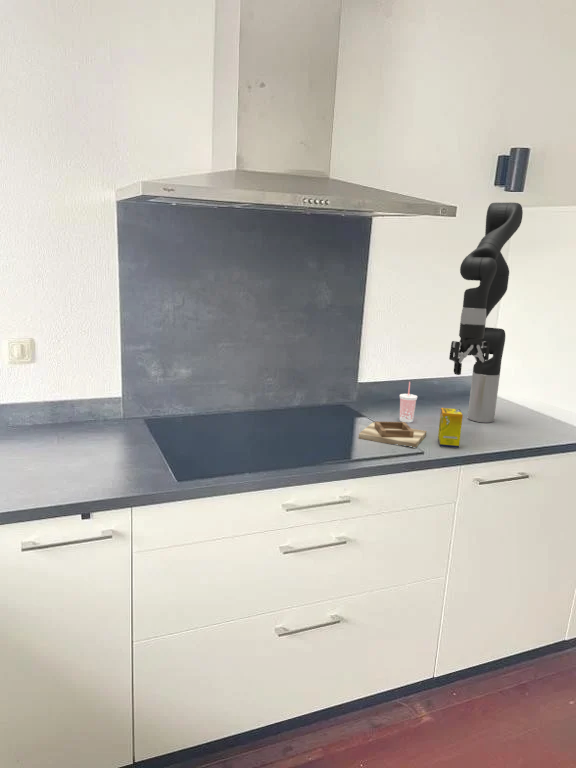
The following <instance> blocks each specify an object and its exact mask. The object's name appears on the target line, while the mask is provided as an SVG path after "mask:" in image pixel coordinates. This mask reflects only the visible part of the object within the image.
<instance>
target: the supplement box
mask: <svg viewBox="0 0 576 768" xmlns="http://www.w3.org/2000/svg"><path fill="white" fill-rule="evenodd" d="M439 416H440V417H439V425H438V435H437V442H438V445H439V447H441V448H450V449H451V448H454V449H459V448H460V443H461V433H462V424H463V417H464V415H463V413H462V411H461V409H460V408H449V407H448V408H447V407H446V408H445V407H440V415H439Z"/></svg>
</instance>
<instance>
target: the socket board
mask: <svg viewBox="0 0 576 768" xmlns="http://www.w3.org/2000/svg"><path fill="white" fill-rule="evenodd" d="M426 436H427V430H423V429H418V428H417V429H416V428H413V427H412V428H411V427H410V426H409V425H408V424H407V422H402V421H373V422H372V423H370V424H369V425H368V426H366V427H365V428H364V429H362V430H361V431H360V432H359V433H358V439H361V440H366V441H367V440H368V441H373V442H377V443H384V444H390V445H393V444H398V445H397V446H399V445H406V446H412V447H416V448H417V447H418V446H419V445H420V444H421V442H422V441H423V440H424V439H425V437H426Z"/></svg>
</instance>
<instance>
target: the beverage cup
mask: <svg viewBox="0 0 576 768" xmlns="http://www.w3.org/2000/svg"><path fill="white" fill-rule="evenodd" d="M410 391H411V381H408V390H407V393H400V394H399V422H405V423H412V422H414V417H415V412H416V411H415V410H416V405H417V399H418V395H416V394H412V393H410Z"/></svg>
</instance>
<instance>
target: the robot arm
mask: <svg viewBox="0 0 576 768" xmlns="http://www.w3.org/2000/svg"><path fill="white" fill-rule="evenodd" d="M523 211H524V210H523V206H522V204H521V203H518V202H492V203H490V204H489V206H488V207H487V211H486V217H485V232H484V233H485V234H484V236H483V237H482V239H481V240H480V242H479V243H478V245H477V247H476V248H475V249H474V250H473V251H471V252H470V253H469V254H468V255H466V256H465V257H464V259H463V260H462V262H461V264H460V267H459V272H460V276H461V277H462V278H463V279H464V280H466V281H477V282H478V281H479V285H478V286H477V287H470V288H466V289H465V291H464V292H463V299H462V300H463V303H462V309H461V316H460V323H459V332H458V336H459V338H460V339H459V341H457V340H452V341H451V344H450V352H449V357H448V358H449V360H450V361H452V362H453V363H454V364H453V373H454V375H456V376H457V375H458V376H461V375H462V367H463V365H462V364H463V363H462V362H463V361H464V359H465V358H467V357H468V356H473V358H474V360H475V363H474V364H473V368H472V374H471V375H472V376H471V384H470V385H471V386H470V393H469V400H468V401H469V402H468V410H467V415H466V416H467V417H468V418H467V419H468V420H469V421H473V422H478V423H486V424H487V423H493V422H494V421H495V416H496V409H497V401H498V391H499V386H500V385H499V383H500V377H501V376H500V375H501V368H502V359H503V354H504V348H505V344H506V343H505V342H506V330H505V329H504V328H497V327H487V326H486V323H487V319H488V316H489V315H490V313H491V312H492V310H493V309H494V308H495V306H496V305H497V304H498V303H499V302H500V300H502V298H503V297H504V296H505V295H506V293H507V290H508V286H509V279H510V277H509V276H510V269H509V268H510V267H509V266H508V264H507V261H506V260H505V257H504V255H503V254H502V250H503V247H504V246H505V245H506V243H507V242H509V240H510V239H511V237H513V235H514V234H515V233H516V232H517V230H519V228H520V226H521V224H522V222H523V216H524V215H523ZM490 355H492V357H490Z"/></svg>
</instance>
